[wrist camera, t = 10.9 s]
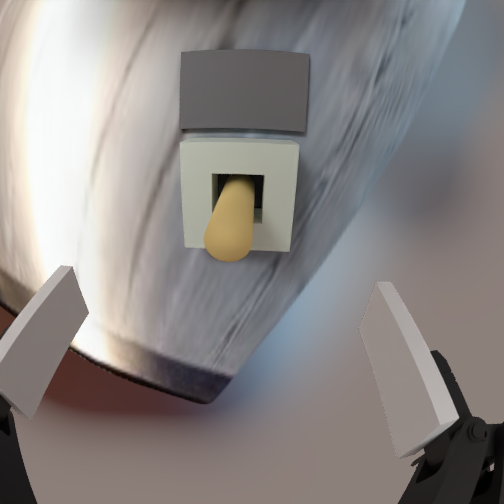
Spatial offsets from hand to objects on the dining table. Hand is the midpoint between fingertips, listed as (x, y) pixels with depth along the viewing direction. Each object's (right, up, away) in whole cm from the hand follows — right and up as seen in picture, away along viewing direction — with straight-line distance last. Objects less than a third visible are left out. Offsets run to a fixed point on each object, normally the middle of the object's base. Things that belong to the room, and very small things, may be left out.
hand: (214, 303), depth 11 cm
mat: (+1, +17, +12) cm, 21 cm away
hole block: (0, +9, +16) cm, 19 cm away
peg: (0, +9, +16) cm, 19 cm away
